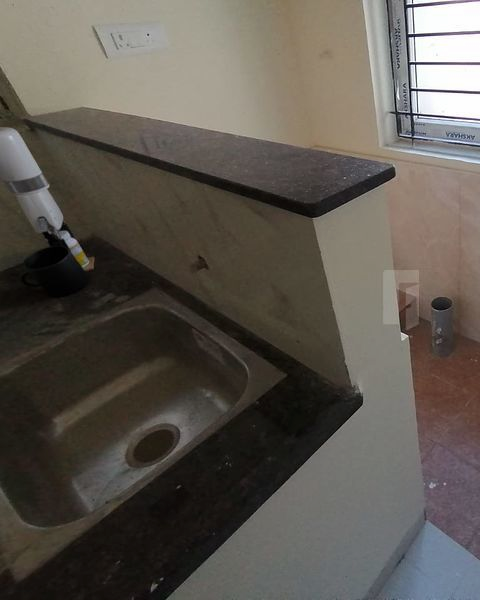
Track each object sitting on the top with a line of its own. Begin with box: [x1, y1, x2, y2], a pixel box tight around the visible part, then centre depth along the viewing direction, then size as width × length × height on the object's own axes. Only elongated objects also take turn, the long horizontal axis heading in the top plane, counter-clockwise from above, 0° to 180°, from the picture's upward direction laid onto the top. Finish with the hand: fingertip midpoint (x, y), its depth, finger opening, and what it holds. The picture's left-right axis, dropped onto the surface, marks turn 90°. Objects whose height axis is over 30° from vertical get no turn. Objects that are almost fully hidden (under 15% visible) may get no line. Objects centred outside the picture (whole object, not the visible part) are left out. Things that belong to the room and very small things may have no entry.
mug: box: [19, 246, 90, 298], centre depth 96 cm, size 9×12×9 cm
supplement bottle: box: [52, 231, 89, 268], centre depth 104 cm, size 5×5×10 cm
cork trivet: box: [83, 256, 95, 272], centre depth 107 cm, size 7×7×1 cm
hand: (65, 246), depth 103 cm, fingers open, 9 cm apart
